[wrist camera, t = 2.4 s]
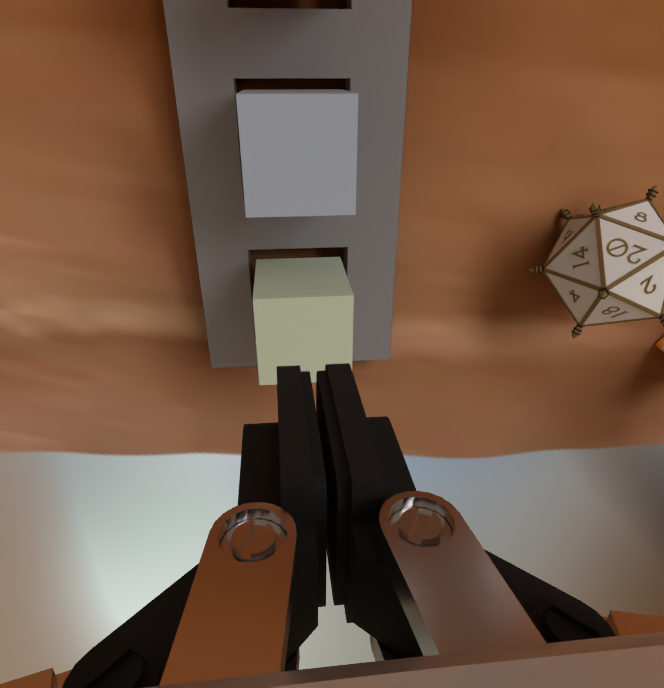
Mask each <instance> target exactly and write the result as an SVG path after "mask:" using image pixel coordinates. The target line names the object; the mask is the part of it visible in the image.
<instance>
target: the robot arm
mask: <svg viewBox="0 0 664 688" xmlns="http://www.w3.org/2000/svg"><path fill="white" fill-rule="evenodd" d="M276 367H277V396H278V422H277V423H259V424H244V428H243V440H242V454H241V469H240V482H239V496H238V506H236V507H234V508H232V509H230V510H228V511H227V512H225V513H223V514H222V515H221V516H220V517H219V518H218V519H217V520H216V521H215V523H214V524H213V527H212V528H211V530H210V532H209V535H208V538H207V541H206V544H205V547H204V551H203V553H202V557H201V559H200V563H199V564H197V565H196V566H195V567H194V568H192V569H191V570H190V571H189V572H187V573H186V574H185V575H184V576H182V577H181V578H180V579H179V580H177V581H176V582H175V583H174V584H172V585H171V586H170V587H169V588H167V589H166V590H165V591H163V592H162V593H161V594H160V595H159V596H157V597H156V598H155V599H154V600H152V601H151V602H150V603H148V604H147V605H146V606H145V607H143V608H142V609H141V610H140V611H139V612H137V613H136V614H135V615H134V616H132V617H131V618H130V619H128V620H127V621H126V622H125V623H124V624H122V625H121V626H120V627H118V628H117V629H116V630H115V631H113V632H112V633H111V634H110V635H109V636H107V637H106V638H105V639H103V640H102V641H101V642H100V643H98V644H97V645H96V646H95V647H93V648H92V649H91V650H90V651H89V652H88V653H87V654H86V655H85V656H83V657H82V658H81V660H79V661H78V662H77V663H76V664H75V666H74V667H73V669H72V670H69V671H66V672H63V673H60V674H57V675H55V673H54V670H53V668H51V669H47V670H44V671H41V672H38V673H35V674H31V675H28V676H25V677H22V678H19V679H15V680H12V681H9V682H6V683H3V684H0V688H664V617H662V616H654V615H645V614H636V613H629V612H620V611H611V610H610V612H609V615H608V617H602V616H600V615H599V614H598V613H597V612H596V611H595V610H594V609H592V608H591V607H589V606H587V605H586V604H585V603H583V602H581V601H580V600H578V599H576V598H574V597H572V596H570V595H569V594H567V593H565V592H563V591H561V590H559V589H557V588H556V587H554V586H552V585H550V584H548V583H546V582H544V581H542V580H541V579H538V578H537V577H535V576H533V575H531V574H529V573H527V572H526V571H524V570H522V569H520V568H518V567H516V566H514V565H513V564H511V563H509V562H507V561H505V560H503V559H501V558H499V557H497V556H495V555H494V554H492V553H490V552H488V551H486V550H484V549H483V547H482V546H481V544H480V543H479V541H478V540H477V538H476V537H475V535H474V534H473V532H472V531H471V529H470V528H469V527H468V525H467V523H466V522H465V520H464V519H463V517H462V516H461V514H460V513H459V512H458V511H457V510H456V508H455V507H454V506H453V505H452V504H451V503H449V502H448V501H446V500H444V499H443V498H442V497H439V496H436V495H434V494H431V493H428V492H421V491H416V488H415V486H414V483H413V481H412V478H411V476H410V473H409V470H408V468H407V465H406V462H405V460H404V457H403V454H402V451H401V449H400V446H399V444H398V441H397V438H396V436H395V433H394V430H393V428H392V425H391V422H390V420H389V418H388V417H368V418H366V415H365V411H364V408H363V405H362V402H361V399H360V395H359V392H358V389H357V386H356V382H355V379H354V376H353V373H352V369H351V366H350V364H349V363H343V364H326V365H325V370H323V371H317V374H316V409H315V402H314V396H313V389H312V383H311V376H310V371H301V369H300V365H297V366H276ZM326 549H327V557H328V564H329V572H330V579H331V587H332V595H333V602H334V605H344V607H345V614H346V620H347V623H351V622H353V623H355V624H356V625H357V626H359V627H360V628H362V629H363V630H364V631H366V632H367V633H368V634H370V642H371V648H372V652H373V655H374V658H375V661H376V662H367V663H358V664H349V665H339V666H330V667H321V668H313V669H303V670H299V659H300V658H299V657H300V656H299V647H300V646H301V644H302V643H303V642H304V641H305V640H306V639H307V638H308V637H309V635H310V634H311V633H312V632H313V631H314V630H315V629H316V627H317V626H318V607H323V606H326Z"/></svg>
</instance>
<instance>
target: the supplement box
mask: <svg viewBox="0 0 664 688" xmlns="http://www.w3.org/2000/svg"><path fill="white" fill-rule="evenodd" d="M656 346H657V347H658V348H659V349H661V350H662V351H663V352H664V337H662V338H661V339H660V340H659V341H658V342H657V343H656Z"/></svg>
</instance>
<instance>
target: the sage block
mask: <svg viewBox="0 0 664 688" xmlns="http://www.w3.org/2000/svg"><path fill="white" fill-rule="evenodd" d="M253 311H254V323H255V336H256V348H257V361H258V373H259V385H274V384H277V367H276V366H297V365H300V369H301V371H310V376H311V382H316V374H317V371H323V370H325V365H326V364H343V363H349V364H350V366H351V369H352V355H353V311H354V294H353V292H352V289H351V286H350V283H349V280H348V277H347V275H346V272H345V269H344V266H343V263H342V261H341V258H340V257H316V258H285V259H256V269H255V279H254V290H253Z"/></svg>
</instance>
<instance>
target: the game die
mask: <svg viewBox="0 0 664 688" xmlns="http://www.w3.org/2000/svg"><path fill="white" fill-rule="evenodd" d="M657 193H658V192H657V185H655V186H654V187H652V188H651V189H648V193H646V195H647V196H646V198H645V199H643V200H639V201H635V202H630V203H626V204H622V205H618V206H614V207H610V208H606V209H600V205H596V204H594V203H592V205H591V207H590V208H589V210H590V212H589V213H585V214H581V215H576V216H571V213H570V212H569V211H568V210H564V209H561V217H563V219H566V220H567V223H566V225H565V227H564V229H563V230H562V232H561V234H560V236H559V238H558V240H557V241H556V243H555V245H554V247H553V249H552V251H551V252H550V254H549V256H548V258H547V260H546V262H545V263H544V265H543V266H539V265H537V266H535V265H533V267H531V268H530V269H528V271H530V272H532V273H533V274H535V273H540V272H543V273H544V275H545V276H546V278H547V279H548V281H549V282H550V284H551V285H552V287H553V288H554V290H555V291H556V293H557V294H558V296H559V297H560V299H561V300H562V302H563V303H564V305H565V306H566V308H567V309H568V311H569V312H570V314H571V315H572V317H573V318H574V320H575V322H576V323H577V326H576V327H575V328H574V329H573V331H571V332H572V336H573V338H575V337H577V336H579V335H581V334H580V333H581V332H582V327H584V326H593V325H602V324H611V323H619V322H628V321H637V320H646V319H655V318H659V319H660V321H661V323H663V326H664V218H663V217H662V215H661V214H660V213H659V211H658V210H657V208H656V207H655V205H654V204H653V203H652V199H653V198H654V197H656V194H657Z"/></svg>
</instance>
